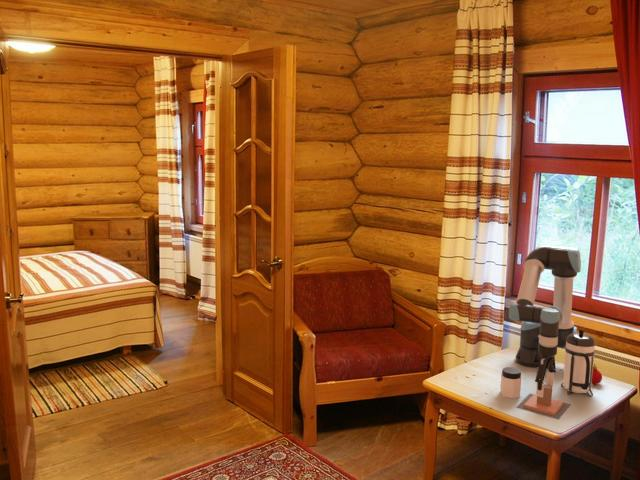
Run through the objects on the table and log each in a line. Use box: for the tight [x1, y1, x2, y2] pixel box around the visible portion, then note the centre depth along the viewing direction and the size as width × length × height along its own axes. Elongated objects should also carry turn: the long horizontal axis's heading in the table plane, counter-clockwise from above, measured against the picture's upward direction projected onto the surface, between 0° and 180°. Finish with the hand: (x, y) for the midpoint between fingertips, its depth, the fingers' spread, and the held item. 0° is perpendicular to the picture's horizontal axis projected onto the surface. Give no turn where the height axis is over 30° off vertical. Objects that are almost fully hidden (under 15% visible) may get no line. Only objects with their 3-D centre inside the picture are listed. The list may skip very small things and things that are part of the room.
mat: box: [516, 393, 572, 420], centre depth 260 cm, size 18×18×1 cm
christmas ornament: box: [591, 363, 603, 385], centre depth 284 cm, size 7×7×10 cm
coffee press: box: [560, 328, 597, 397], centre depth 273 cm, size 17×16×30 cm
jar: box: [500, 366, 522, 399], centre depth 271 cm, size 9×8×12 cm
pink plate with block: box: [524, 383, 565, 416], centre depth 260 cm, size 13×13×9 cm
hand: (544, 391), depth 259 cm, fingers open, 13 cm apart
